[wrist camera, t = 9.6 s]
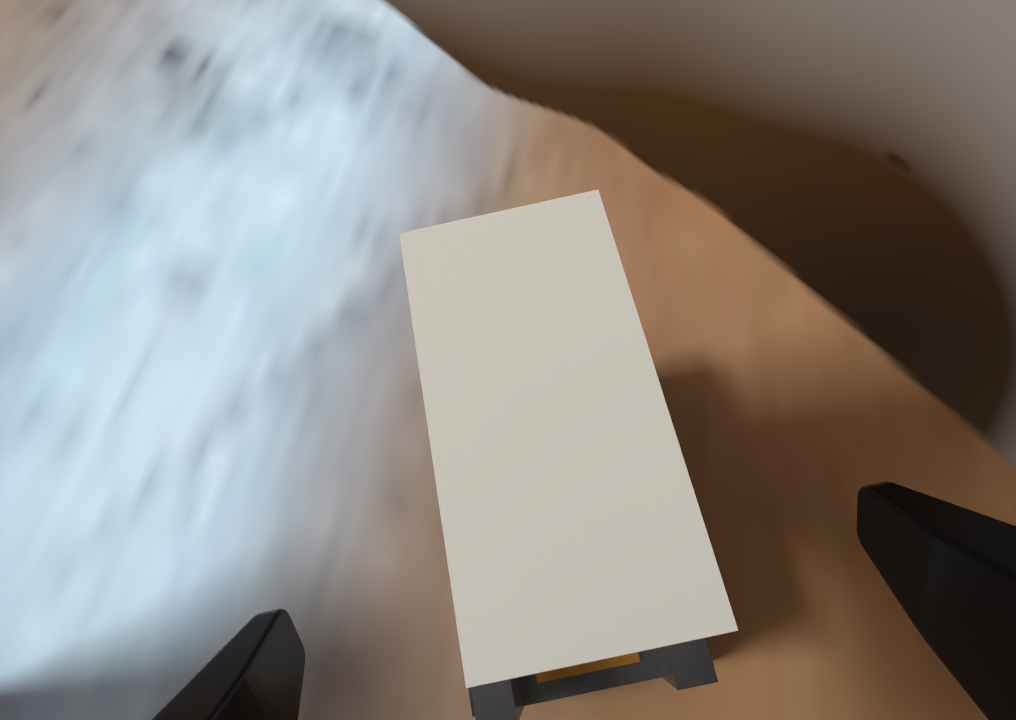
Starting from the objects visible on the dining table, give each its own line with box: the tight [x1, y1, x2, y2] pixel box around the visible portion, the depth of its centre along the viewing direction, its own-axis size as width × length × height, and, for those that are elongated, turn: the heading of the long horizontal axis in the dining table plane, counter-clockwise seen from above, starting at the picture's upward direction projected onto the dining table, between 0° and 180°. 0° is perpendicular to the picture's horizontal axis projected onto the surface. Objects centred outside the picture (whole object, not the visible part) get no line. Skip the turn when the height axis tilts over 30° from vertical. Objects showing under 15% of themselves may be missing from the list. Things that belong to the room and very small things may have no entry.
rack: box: [469, 638, 718, 720], centre depth 17 cm, size 9×7×3 cm
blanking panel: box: [399, 190, 738, 688], centre depth 12 cm, size 5×2×13 cm, turn 11°
